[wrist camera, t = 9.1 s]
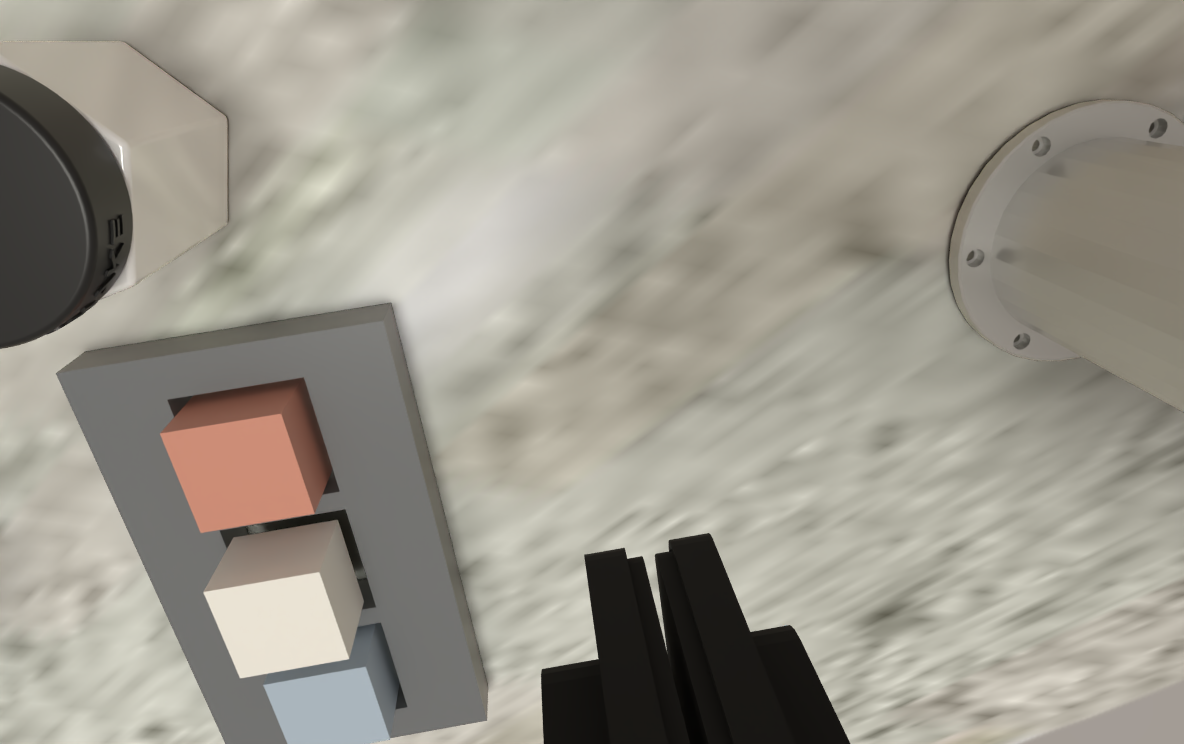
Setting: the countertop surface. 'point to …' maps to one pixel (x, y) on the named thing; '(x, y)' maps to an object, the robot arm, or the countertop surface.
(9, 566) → the countertop surface
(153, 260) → the jar
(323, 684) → the slate key
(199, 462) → the brick key
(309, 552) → the ivory key
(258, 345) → the slotted grey plate
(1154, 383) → the robot arm
